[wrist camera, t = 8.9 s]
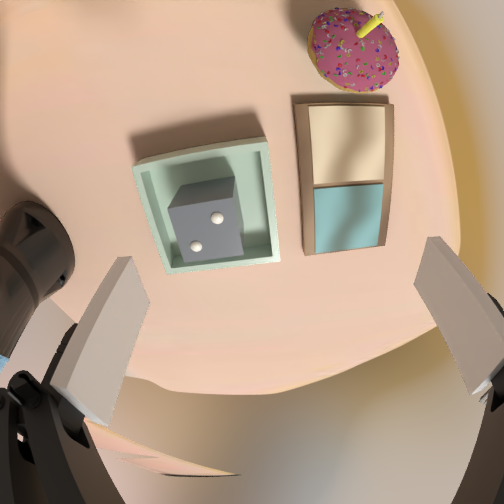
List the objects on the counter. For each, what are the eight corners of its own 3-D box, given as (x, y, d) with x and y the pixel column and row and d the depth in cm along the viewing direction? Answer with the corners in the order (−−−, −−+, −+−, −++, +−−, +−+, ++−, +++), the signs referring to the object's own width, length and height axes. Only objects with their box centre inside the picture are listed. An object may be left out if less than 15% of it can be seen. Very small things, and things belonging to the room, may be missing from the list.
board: (303, 251, 34) (305, 256, 34) (293, 103, 24) (295, 104, 24) (382, 241, 34) (385, 246, 33) (389, 103, 24) (394, 105, 23)
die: (193, 232, 32) (184, 263, 27) (180, 185, 29) (166, 209, 24) (243, 225, 32) (243, 255, 27) (235, 175, 28) (232, 198, 23)
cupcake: (283, 33, 20) (309, -1, 10) (352, 10, 18) (411, -21, 8) (323, 103, 24) (373, 116, 14) (388, 77, 22) (459, 84, 12)
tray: (172, 259, 35) (166, 274, 32) (141, 158, 27) (131, 167, 25) (277, 246, 34) (280, 261, 31) (265, 136, 26) (267, 141, 24)
